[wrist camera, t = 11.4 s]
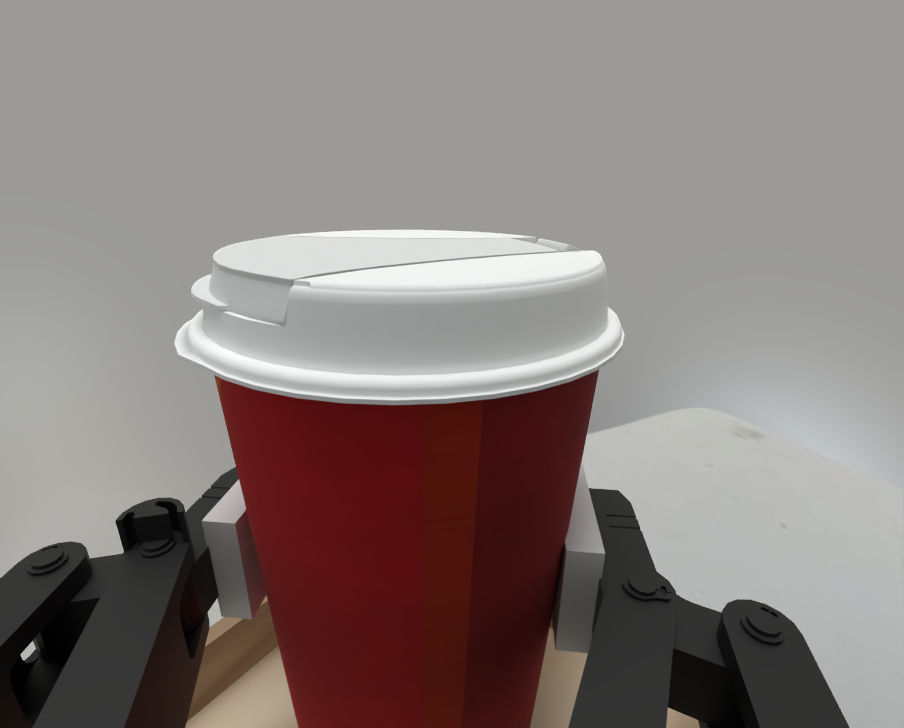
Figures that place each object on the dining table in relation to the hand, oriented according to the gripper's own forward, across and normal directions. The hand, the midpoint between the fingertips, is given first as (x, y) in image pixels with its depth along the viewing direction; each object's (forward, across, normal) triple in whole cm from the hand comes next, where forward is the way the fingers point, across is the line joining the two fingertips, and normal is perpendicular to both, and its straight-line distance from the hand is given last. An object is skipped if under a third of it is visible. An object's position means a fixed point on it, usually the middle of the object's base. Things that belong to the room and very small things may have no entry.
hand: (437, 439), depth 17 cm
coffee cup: (-5, 0, -8) cm, 10 cm away
